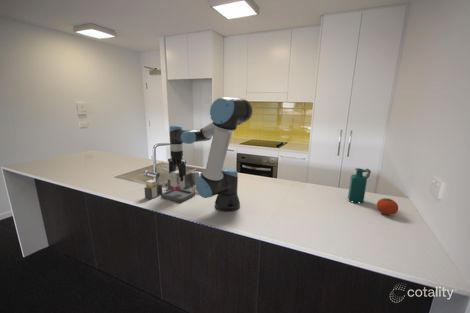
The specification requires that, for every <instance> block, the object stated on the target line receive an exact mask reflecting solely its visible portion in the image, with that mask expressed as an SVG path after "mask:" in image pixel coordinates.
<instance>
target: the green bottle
mask: <svg viewBox="0 0 470 313" xmlns="http://www.w3.org/2000/svg"><path fill="white" fill-rule="evenodd" d="M354 170H355V171H356V172H355V174H351V175H350V178H349V187H348V193H347V200H348V199H349V200H350V201H353V202H360V203H363V204H364V202H365V196H366V189H367V188H366V187H367V182H368V179H369V177H370V175H371V173H372V171H371V170H370V169H369V168H365V169H364V168H360V167H359V168H358V167H357V168H355V169H354ZM363 173H366V174H365V176H364V174H363ZM349 200H348V201H349ZM350 201H349V202H350Z"/></svg>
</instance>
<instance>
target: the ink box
mask: <svg viewBox="0 0 470 313" xmlns="http://www.w3.org/2000/svg"><path fill="white" fill-rule="evenodd" d="M179 176H180V174H179V170H178V169H176V171H173V172H171V173H169V179H170V181H171V189H170V190H174V191H178V190H180V189H184V188H185V187H186V182H185V181H186V180H185V176H186V175H185V176H183V185H182V186H179Z"/></svg>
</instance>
